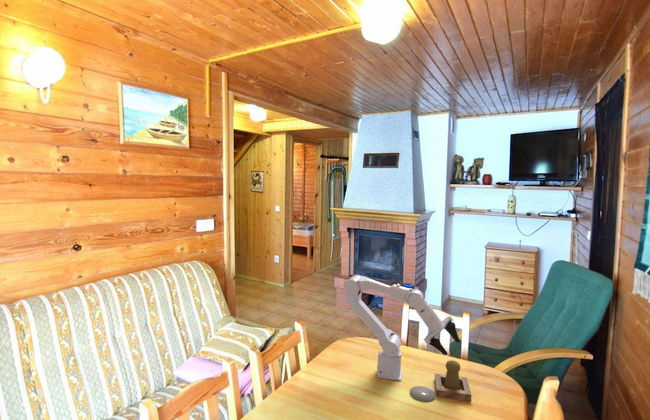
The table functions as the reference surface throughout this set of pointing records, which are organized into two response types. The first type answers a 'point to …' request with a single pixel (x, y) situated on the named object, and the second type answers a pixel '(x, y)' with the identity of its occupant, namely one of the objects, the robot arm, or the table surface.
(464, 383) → the walnut holder
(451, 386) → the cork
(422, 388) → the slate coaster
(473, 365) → the table surface
